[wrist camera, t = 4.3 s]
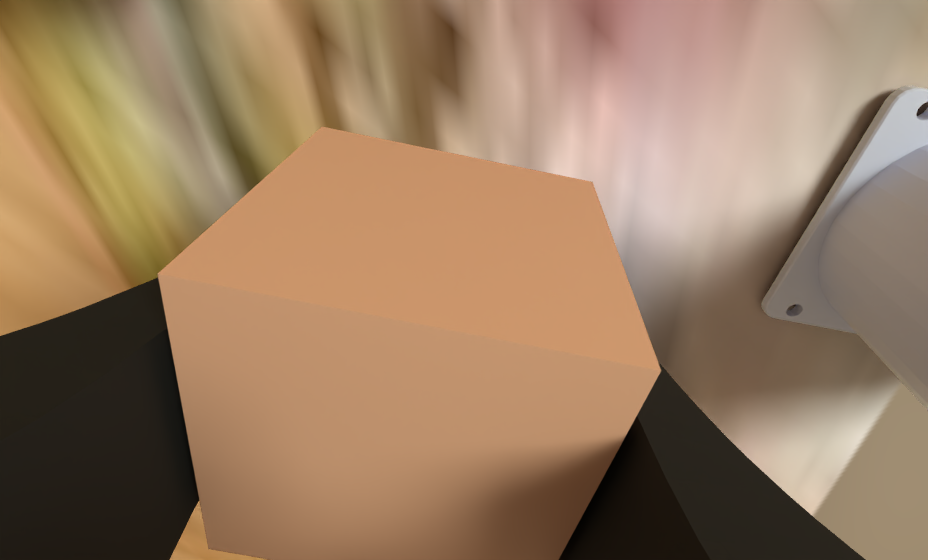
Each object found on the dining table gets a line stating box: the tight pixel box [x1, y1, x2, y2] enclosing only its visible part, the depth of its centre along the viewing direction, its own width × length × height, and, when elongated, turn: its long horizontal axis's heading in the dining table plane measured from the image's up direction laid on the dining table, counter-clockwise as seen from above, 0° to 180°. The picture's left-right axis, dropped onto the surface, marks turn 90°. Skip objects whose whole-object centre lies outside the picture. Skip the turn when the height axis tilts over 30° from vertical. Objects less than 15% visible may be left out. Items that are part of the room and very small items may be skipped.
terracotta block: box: [158, 127, 661, 560], centre depth 8 cm, size 5×5×5 cm
